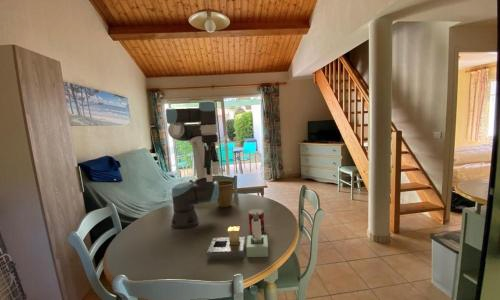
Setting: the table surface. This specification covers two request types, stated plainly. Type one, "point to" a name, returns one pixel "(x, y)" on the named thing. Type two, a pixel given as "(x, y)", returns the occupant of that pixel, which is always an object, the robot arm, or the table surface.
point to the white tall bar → (256, 229)
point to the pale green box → (257, 247)
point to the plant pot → (225, 193)
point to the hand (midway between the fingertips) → (212, 177)
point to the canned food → (261, 217)
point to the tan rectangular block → (234, 236)
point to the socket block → (225, 249)
